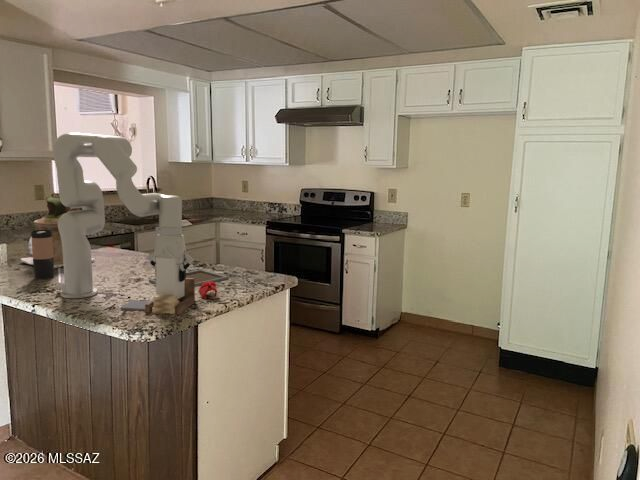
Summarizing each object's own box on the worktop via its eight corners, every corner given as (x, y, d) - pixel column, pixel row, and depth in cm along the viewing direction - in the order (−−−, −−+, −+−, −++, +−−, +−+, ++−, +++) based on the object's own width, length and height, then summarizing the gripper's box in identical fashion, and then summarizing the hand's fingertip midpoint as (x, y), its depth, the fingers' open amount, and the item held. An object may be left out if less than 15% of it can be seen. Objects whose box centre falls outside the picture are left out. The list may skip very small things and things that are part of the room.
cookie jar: (47, 270, 218) (42, 199, 213) (18, 263, 231) (13, 196, 225) (97, 261, 239) (94, 196, 234) (68, 255, 252) (64, 193, 246)
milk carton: (156, 299, 170) (155, 246, 167) (167, 293, 177) (166, 242, 173) (174, 301, 168) (174, 248, 165) (184, 296, 175) (184, 244, 172)
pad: (120, 309, 168) (120, 307, 167) (132, 301, 176) (132, 300, 176) (145, 310, 167) (145, 308, 167) (156, 302, 176) (156, 301, 176)
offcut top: (154, 301, 165) (154, 296, 165) (159, 298, 168) (159, 293, 168) (171, 303, 164) (171, 298, 163) (177, 300, 167) (176, 295, 167)
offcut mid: (153, 307, 165) (153, 302, 165) (158, 304, 169) (158, 298, 168) (174, 309, 164) (174, 303, 164) (179, 305, 168) (179, 300, 167)
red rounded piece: (222, 289, 185) (217, 278, 188) (210, 286, 180) (204, 275, 184) (211, 303, 187) (205, 292, 191) (198, 301, 183) (193, 290, 186)
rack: (145, 313, 164) (144, 287, 163) (163, 300, 179) (162, 276, 178) (179, 314, 163) (179, 289, 162) (194, 301, 178) (194, 278, 177)
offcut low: (152, 314, 165) (152, 307, 165) (156, 310, 169) (156, 304, 168) (175, 315, 164) (175, 309, 164) (179, 311, 168) (179, 305, 168)
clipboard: (228, 276, 213) (169, 289, 190) (228, 280, 213) (169, 293, 190) (201, 269, 225) (142, 280, 202) (201, 272, 225) (142, 284, 202)
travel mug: (48, 274, 212) (45, 229, 208) (58, 277, 208) (55, 230, 204) (30, 277, 205) (27, 231, 202) (40, 280, 201) (37, 233, 198)
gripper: (141, 231, 165) (142, 281, 168) (191, 234, 164) (191, 284, 167) (150, 228, 173) (151, 275, 176) (198, 231, 171) (198, 279, 174)
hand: (170, 279), depth 171 cm, fingers closed on milk carton, 7 cm apart
